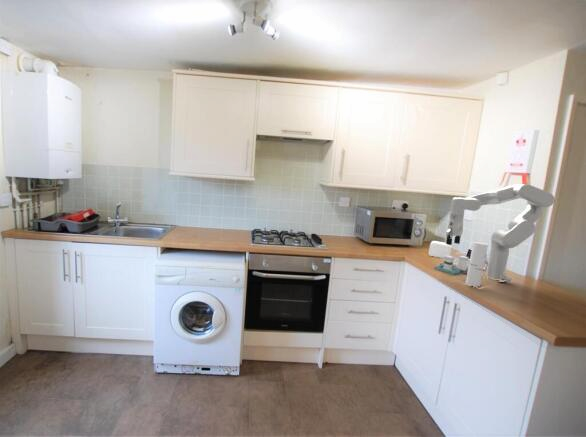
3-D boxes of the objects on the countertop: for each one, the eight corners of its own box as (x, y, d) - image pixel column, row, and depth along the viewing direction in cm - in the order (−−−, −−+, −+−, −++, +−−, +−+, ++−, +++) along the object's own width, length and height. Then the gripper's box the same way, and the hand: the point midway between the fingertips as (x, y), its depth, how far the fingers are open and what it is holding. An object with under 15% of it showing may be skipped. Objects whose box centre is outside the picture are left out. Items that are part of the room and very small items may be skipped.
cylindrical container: (466, 282, 177) (474, 241, 173) (480, 285, 173) (488, 243, 169) (464, 285, 172) (472, 242, 168) (478, 288, 167) (487, 245, 163)
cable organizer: (426, 256, 233) (429, 241, 231) (429, 254, 241) (431, 239, 240) (448, 260, 224) (450, 245, 223) (450, 258, 233) (452, 243, 231)
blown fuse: (451, 272, 193) (454, 257, 191) (448, 272, 191) (450, 257, 189) (445, 270, 196) (448, 255, 195) (442, 270, 194) (444, 256, 192)
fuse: (465, 272, 194) (468, 257, 193) (462, 273, 192) (465, 257, 190) (459, 270, 197) (462, 255, 196) (456, 271, 195) (459, 256, 194)
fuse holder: (469, 274, 194) (470, 269, 194) (463, 275, 190) (464, 271, 189) (445, 266, 207) (445, 262, 207) (438, 267, 203) (439, 263, 202)
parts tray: (459, 274, 191) (460, 270, 191) (452, 276, 186) (453, 271, 186) (441, 268, 201) (442, 264, 200) (434, 270, 196) (434, 265, 195)
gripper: (455, 218, 180) (451, 246, 182) (469, 217, 190) (465, 244, 192) (443, 216, 186) (439, 243, 189) (457, 216, 196) (453, 241, 198)
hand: (452, 244), depth 190 cm, fingers open, 9 cm apart
